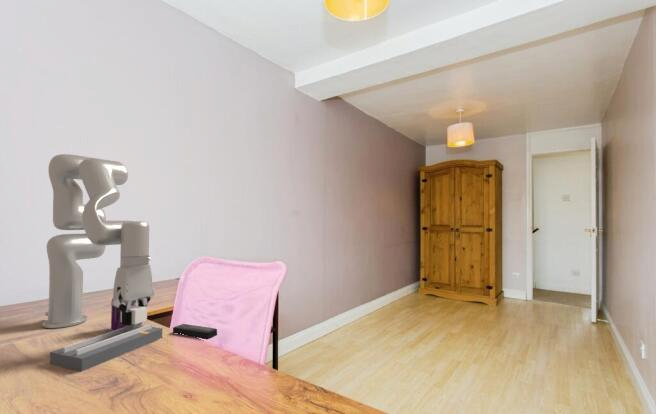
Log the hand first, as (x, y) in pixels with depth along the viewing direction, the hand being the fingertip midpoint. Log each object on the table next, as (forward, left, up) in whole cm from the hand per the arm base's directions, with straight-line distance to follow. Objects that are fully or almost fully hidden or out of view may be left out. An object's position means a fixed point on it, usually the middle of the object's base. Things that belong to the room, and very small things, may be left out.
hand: (133, 321), depth 101 cm
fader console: (0, -7, -6) cm, 9 cm away
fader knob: (0, 0, -3) cm, 3 cm away
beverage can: (-13, +7, -6) cm, 16 cm away
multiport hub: (+13, +11, -6) cm, 18 cm away
